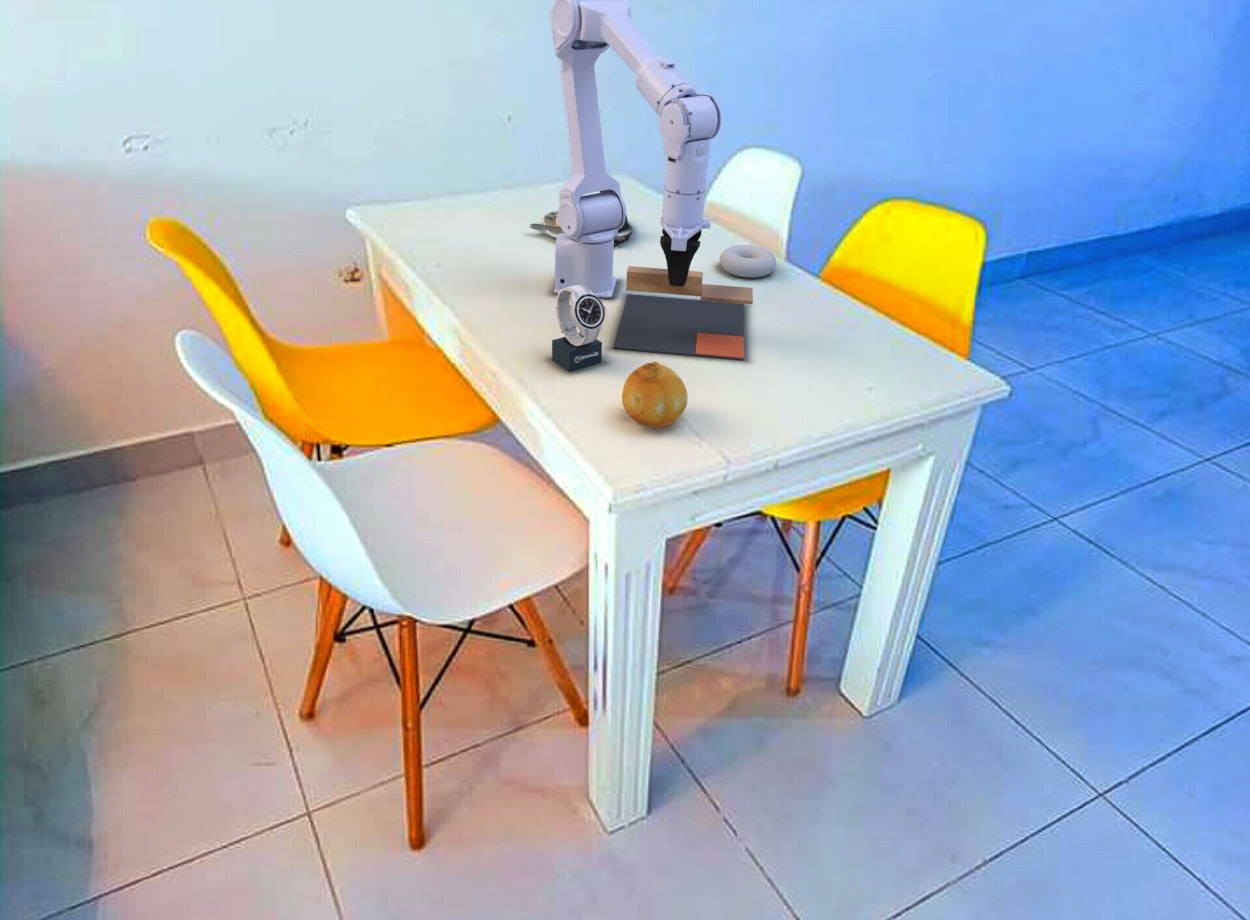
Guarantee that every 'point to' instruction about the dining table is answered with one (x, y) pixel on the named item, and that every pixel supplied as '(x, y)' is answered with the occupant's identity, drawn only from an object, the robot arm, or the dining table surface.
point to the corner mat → (682, 327)
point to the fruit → (654, 395)
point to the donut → (747, 261)
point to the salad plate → (553, 229)
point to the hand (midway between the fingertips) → (677, 281)
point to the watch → (588, 319)
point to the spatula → (659, 283)
